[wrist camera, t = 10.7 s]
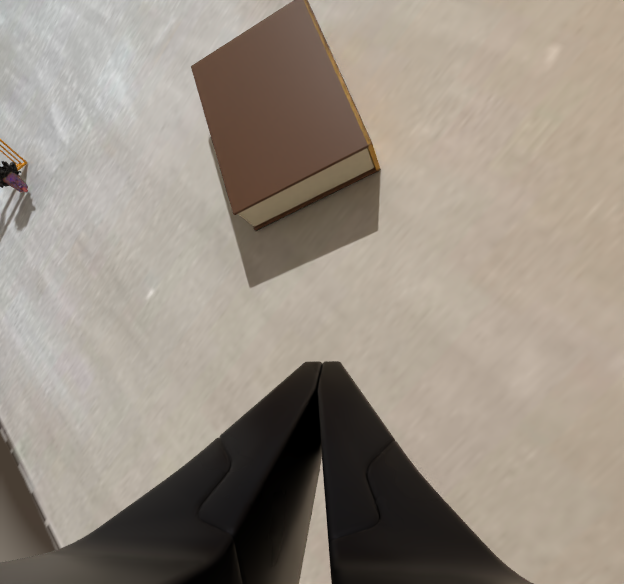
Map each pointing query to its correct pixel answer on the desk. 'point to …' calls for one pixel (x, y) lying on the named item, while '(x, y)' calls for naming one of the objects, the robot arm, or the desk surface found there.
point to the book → (282, 117)
